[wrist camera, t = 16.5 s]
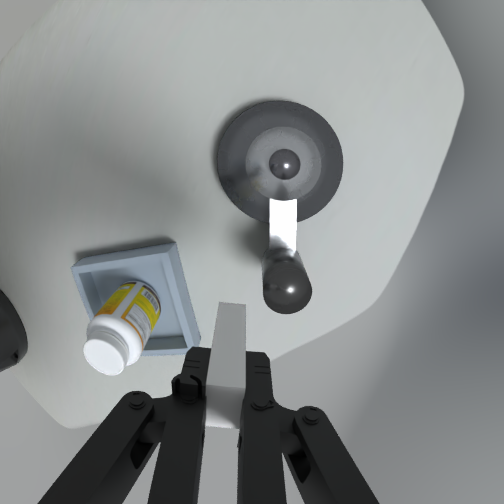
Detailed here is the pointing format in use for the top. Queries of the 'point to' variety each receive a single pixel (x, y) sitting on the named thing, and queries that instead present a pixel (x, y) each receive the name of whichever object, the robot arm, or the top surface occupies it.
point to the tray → (154, 275)
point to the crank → (283, 210)
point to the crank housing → (250, 128)
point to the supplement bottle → (122, 328)
